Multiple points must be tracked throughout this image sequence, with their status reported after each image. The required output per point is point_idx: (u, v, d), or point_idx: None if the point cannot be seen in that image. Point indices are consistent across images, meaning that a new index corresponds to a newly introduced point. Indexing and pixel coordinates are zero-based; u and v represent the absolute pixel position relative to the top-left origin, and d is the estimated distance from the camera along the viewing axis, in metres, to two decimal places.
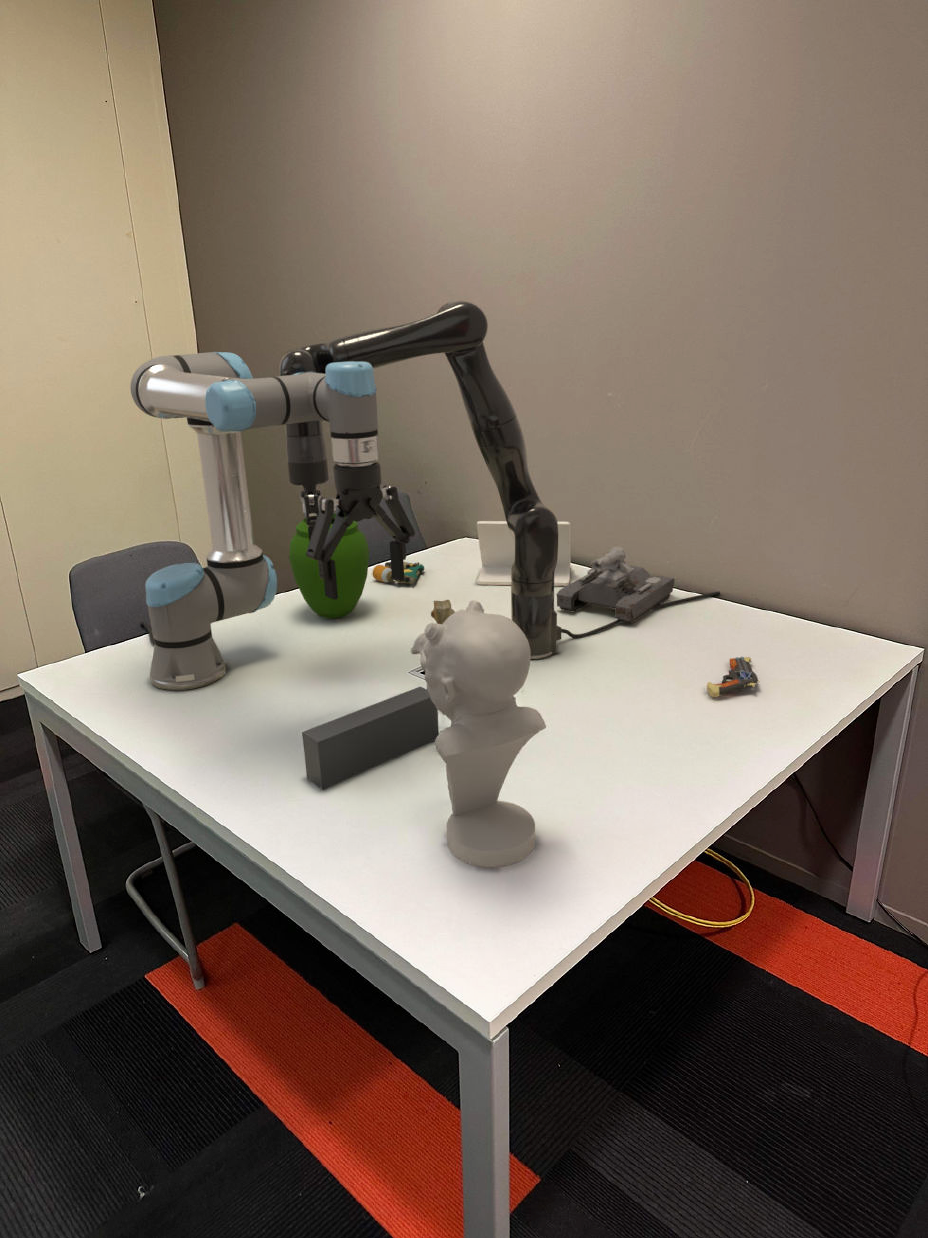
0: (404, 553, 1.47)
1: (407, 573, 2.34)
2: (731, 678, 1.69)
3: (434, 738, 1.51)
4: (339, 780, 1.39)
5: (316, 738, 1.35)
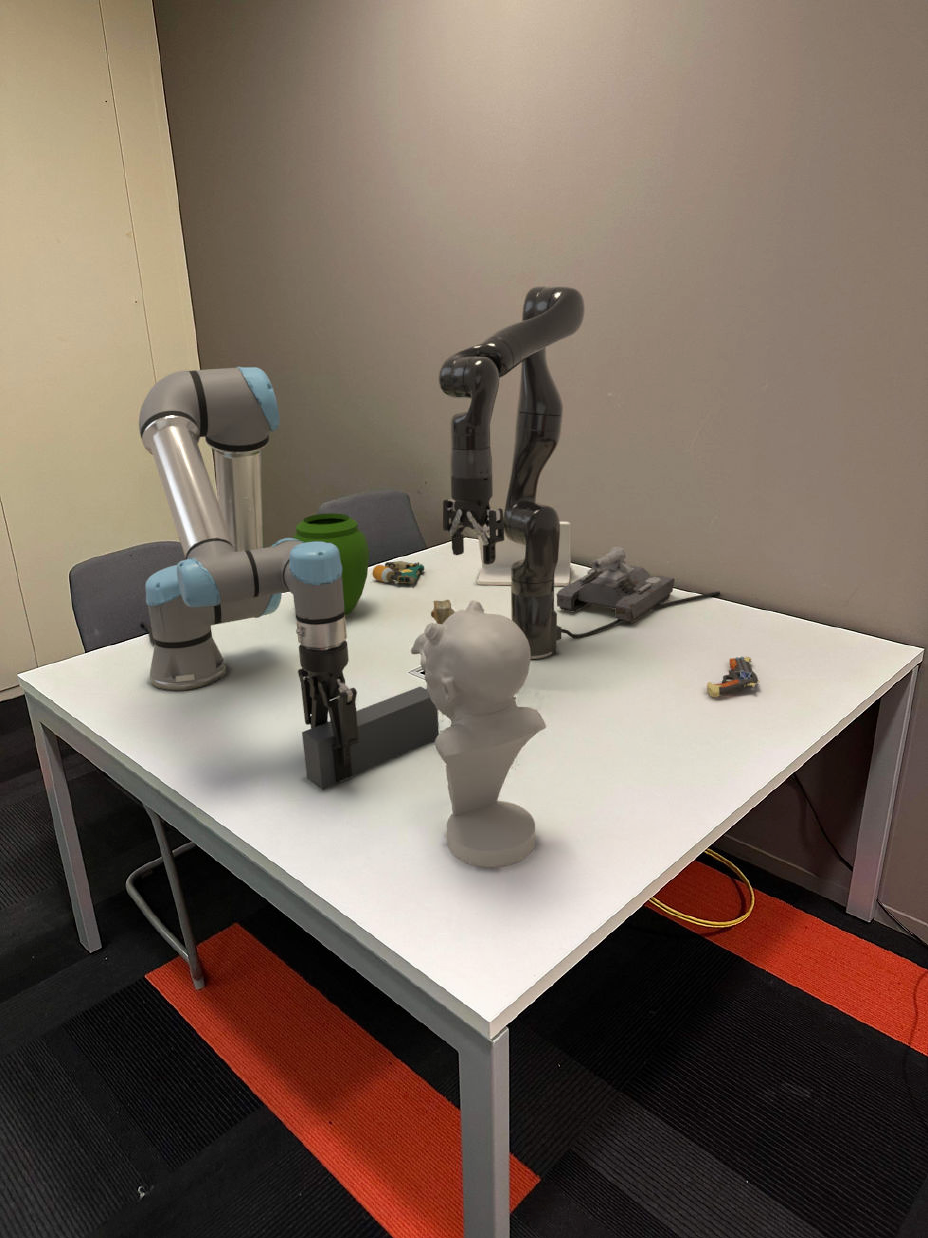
0: (342, 758, 1.36)
1: (407, 573, 2.34)
2: (731, 678, 1.69)
3: (434, 738, 1.51)
4: None
5: (316, 738, 1.35)
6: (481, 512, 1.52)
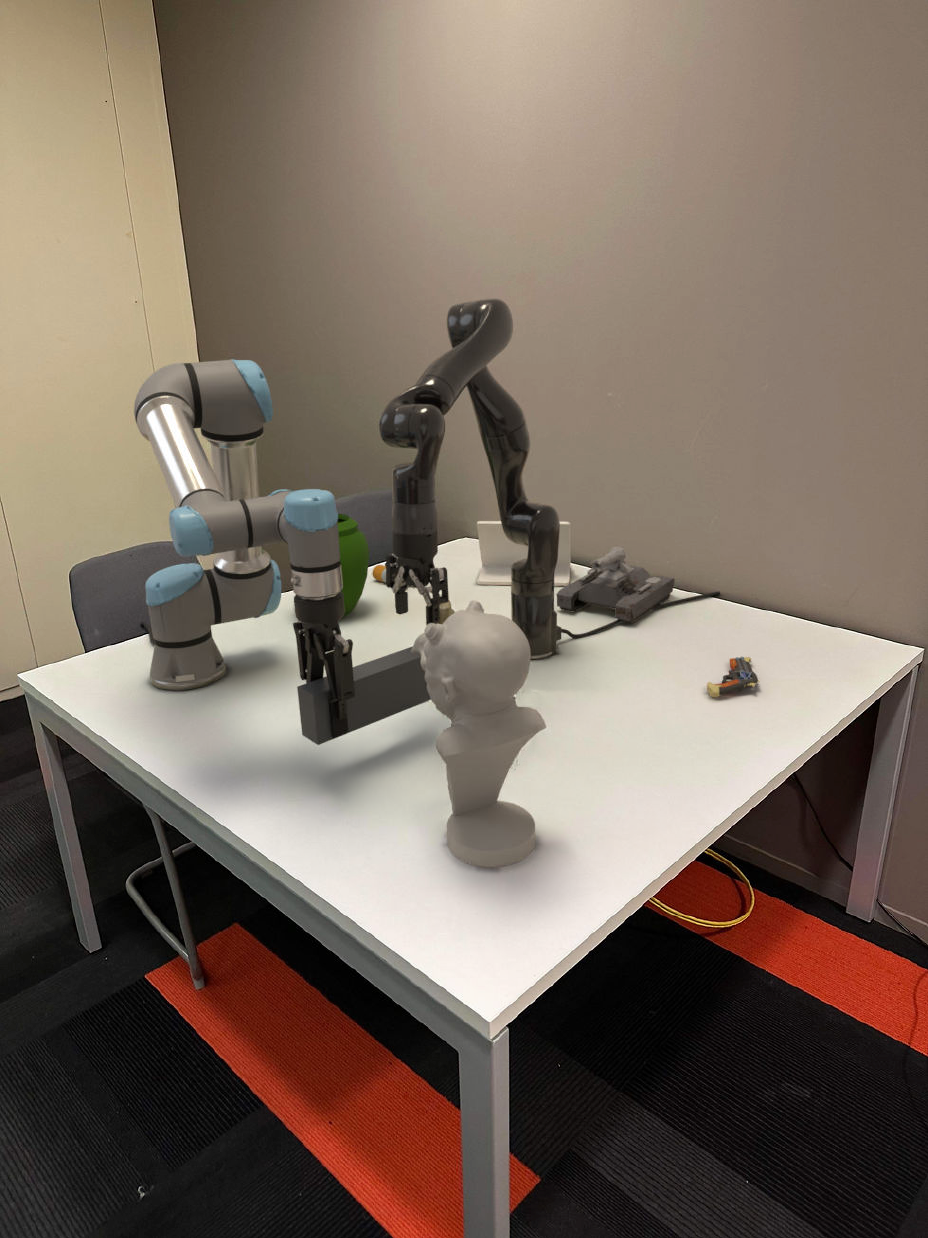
0: (338, 713, 1.33)
1: None
2: (731, 678, 1.69)
3: None
4: None
5: (312, 692, 1.33)
6: (423, 571, 1.40)
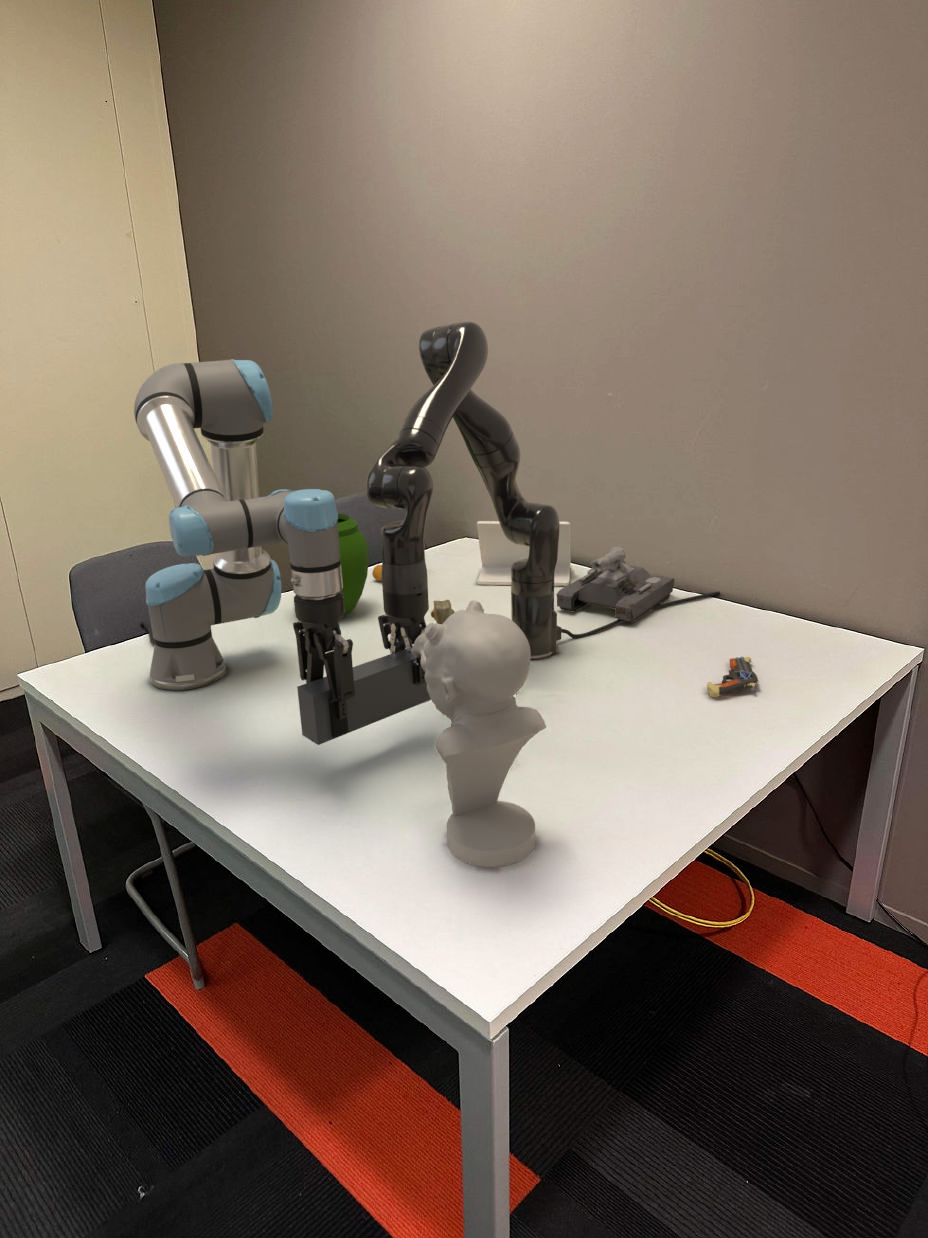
0: (338, 713, 1.33)
1: None
2: (731, 678, 1.69)
3: None
4: None
5: (312, 692, 1.33)
6: (415, 629, 1.40)
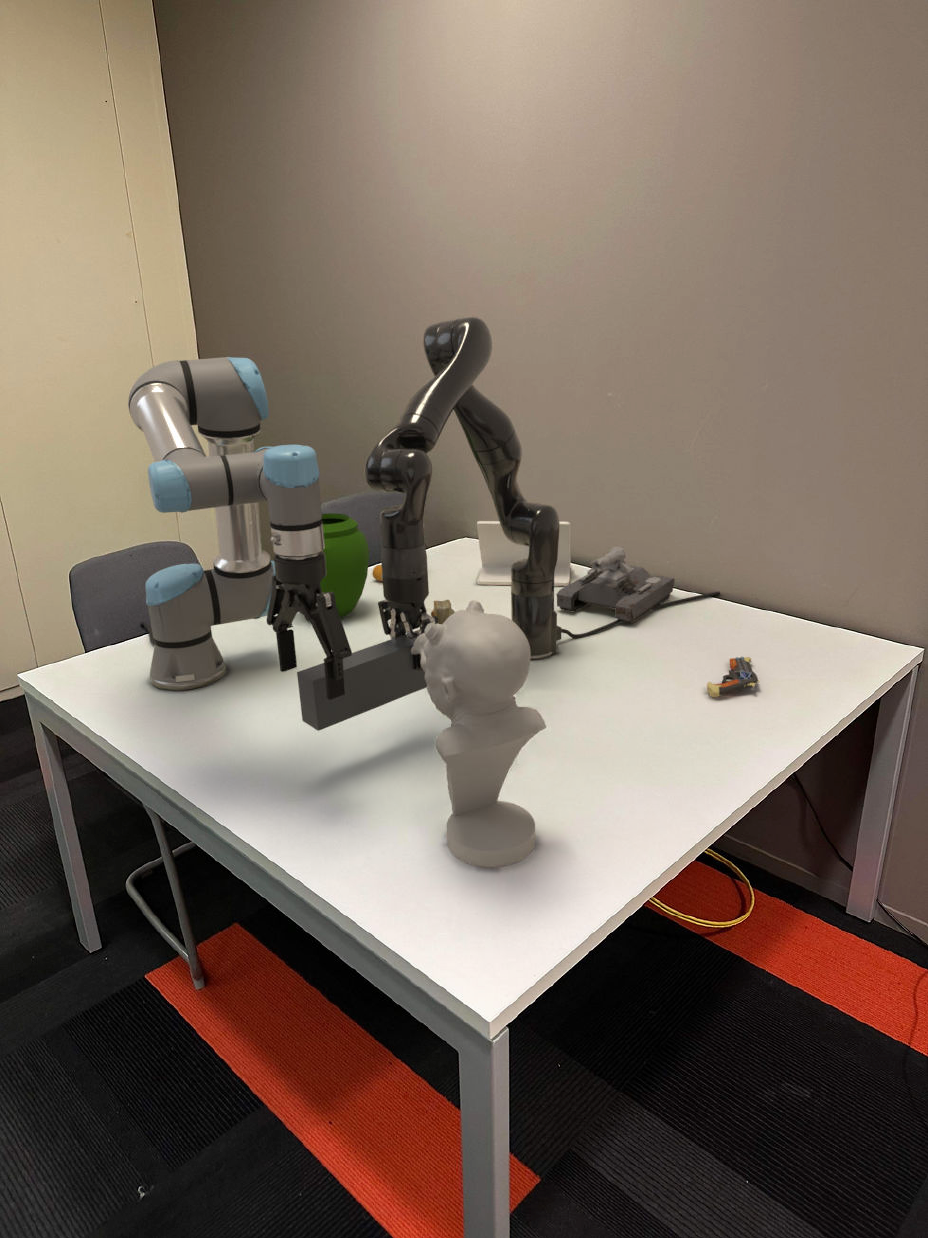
0: (334, 673, 1.26)
1: None
2: (731, 678, 1.69)
3: None
4: (335, 722, 1.36)
5: (312, 677, 1.32)
6: (415, 614, 1.39)
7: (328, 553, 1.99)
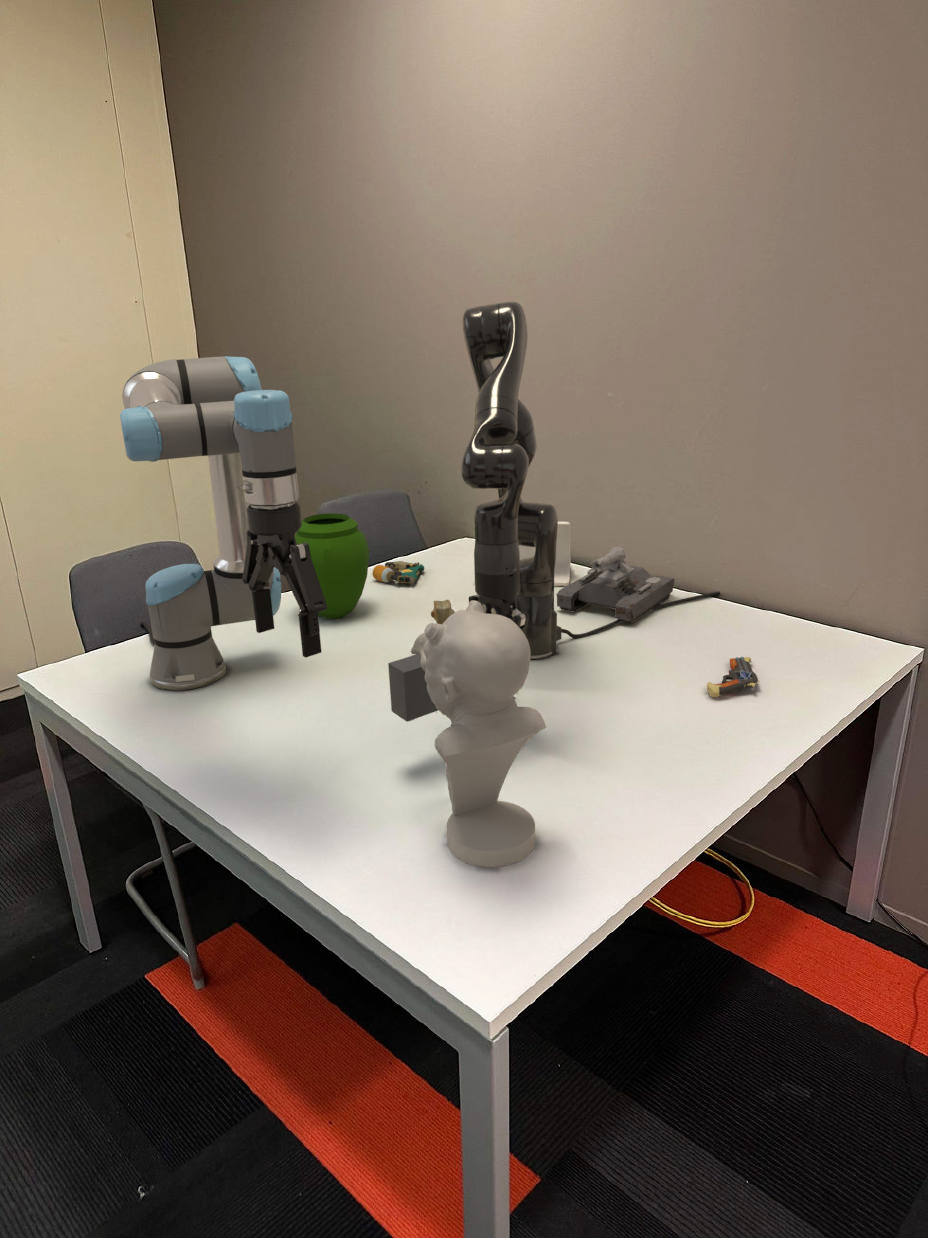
0: (309, 628, 1.21)
1: (407, 573, 2.34)
2: (731, 678, 1.69)
3: None
4: (424, 713, 1.38)
5: (403, 668, 1.34)
6: (506, 610, 1.40)
7: (328, 553, 1.99)
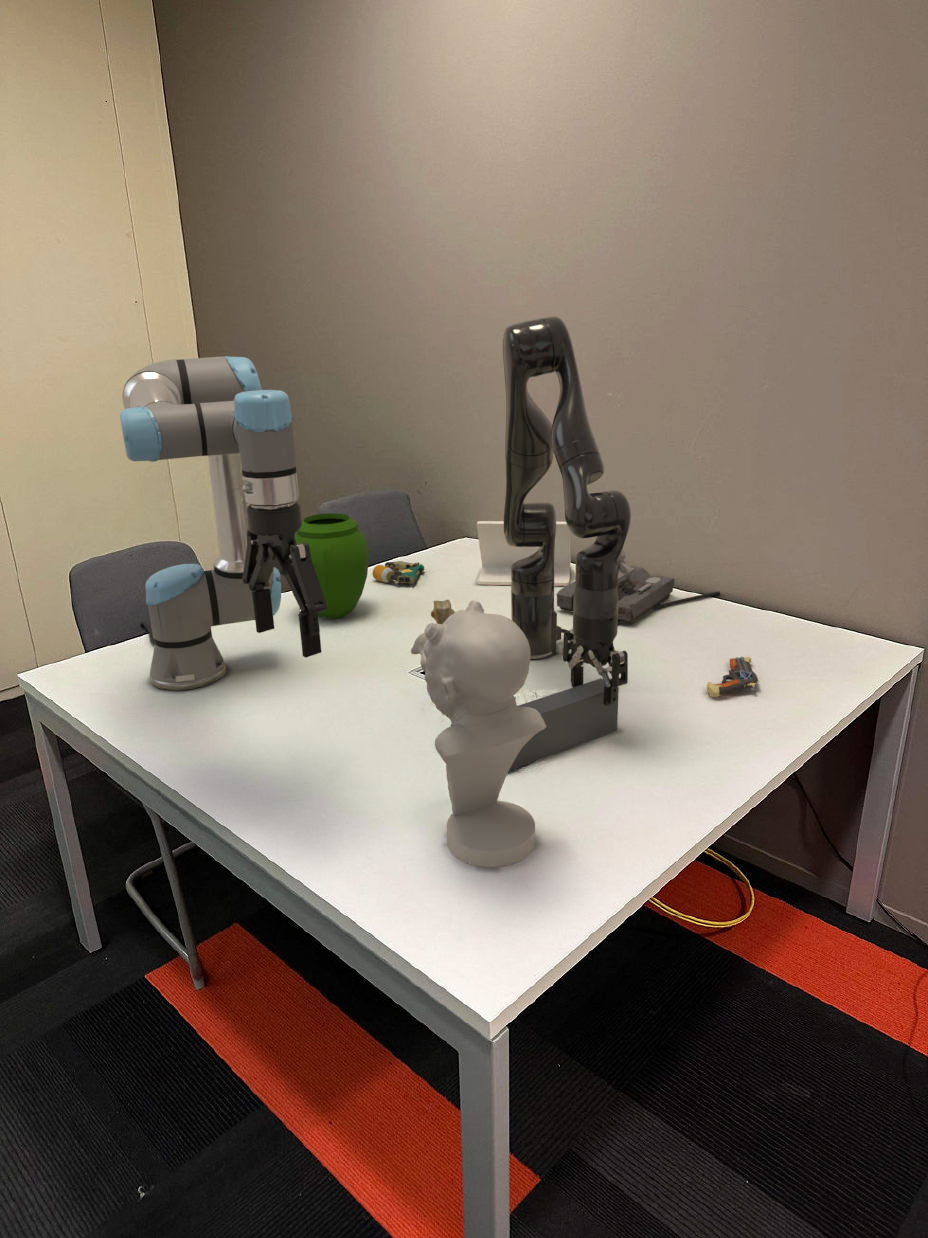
0: (309, 628, 1.21)
1: (407, 573, 2.34)
2: (731, 678, 1.69)
3: (612, 730, 1.52)
4: (522, 764, 1.42)
5: None
6: (603, 653, 1.43)
7: (328, 553, 1.99)
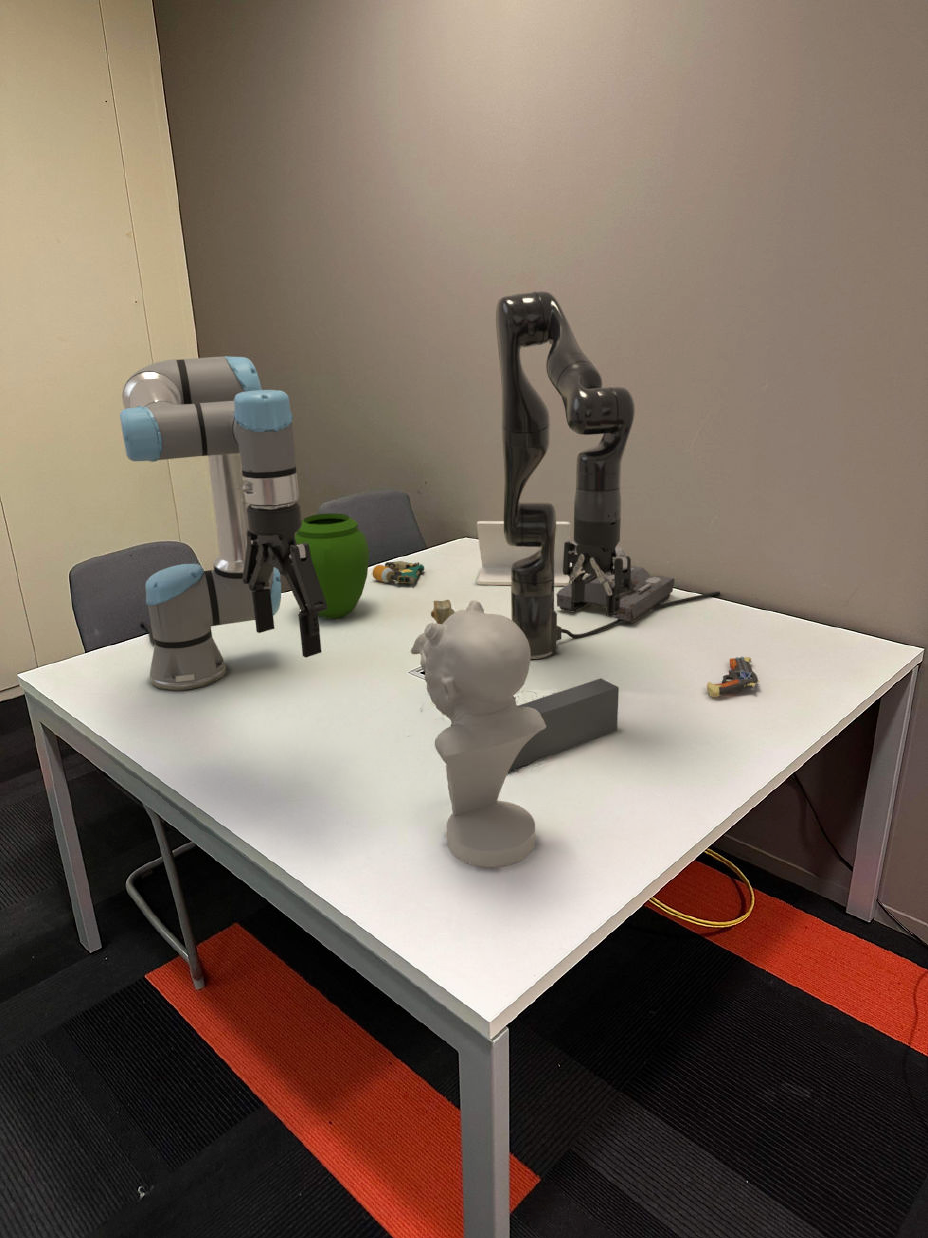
0: (309, 628, 1.21)
1: (407, 573, 2.34)
2: (731, 678, 1.69)
3: (612, 730, 1.52)
4: (522, 764, 1.42)
5: None
6: (605, 559, 1.37)
7: (328, 553, 1.99)
